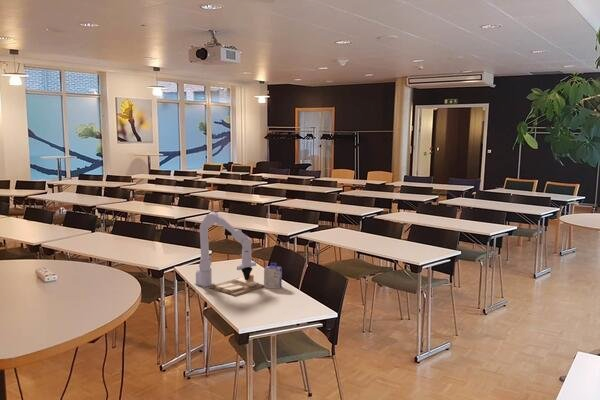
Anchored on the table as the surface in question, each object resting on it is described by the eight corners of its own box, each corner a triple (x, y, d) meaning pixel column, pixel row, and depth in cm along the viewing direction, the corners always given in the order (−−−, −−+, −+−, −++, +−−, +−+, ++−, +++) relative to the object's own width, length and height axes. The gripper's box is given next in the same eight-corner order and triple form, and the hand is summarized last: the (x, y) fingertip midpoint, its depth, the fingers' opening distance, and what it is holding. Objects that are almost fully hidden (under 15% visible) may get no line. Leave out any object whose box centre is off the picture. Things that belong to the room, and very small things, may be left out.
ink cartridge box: (282, 286, 298) (282, 262, 297) (279, 289, 293) (280, 265, 291) (266, 285, 300) (266, 261, 298) (263, 287, 295) (263, 264, 293)
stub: (235, 281, 303) (235, 274, 302) (241, 279, 307) (241, 272, 306) (251, 286, 294) (251, 278, 293) (258, 284, 298) (258, 276, 298)
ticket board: (209, 288, 292) (209, 284, 292) (238, 279, 311) (238, 275, 310) (235, 296, 278) (235, 292, 278) (264, 286, 297) (264, 282, 297)
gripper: (242, 260, 290) (242, 283, 292) (259, 256, 301) (259, 278, 303) (234, 258, 295) (234, 280, 296) (251, 254, 306) (251, 275, 308)
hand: (246, 279), depth 300 cm, fingers closed
